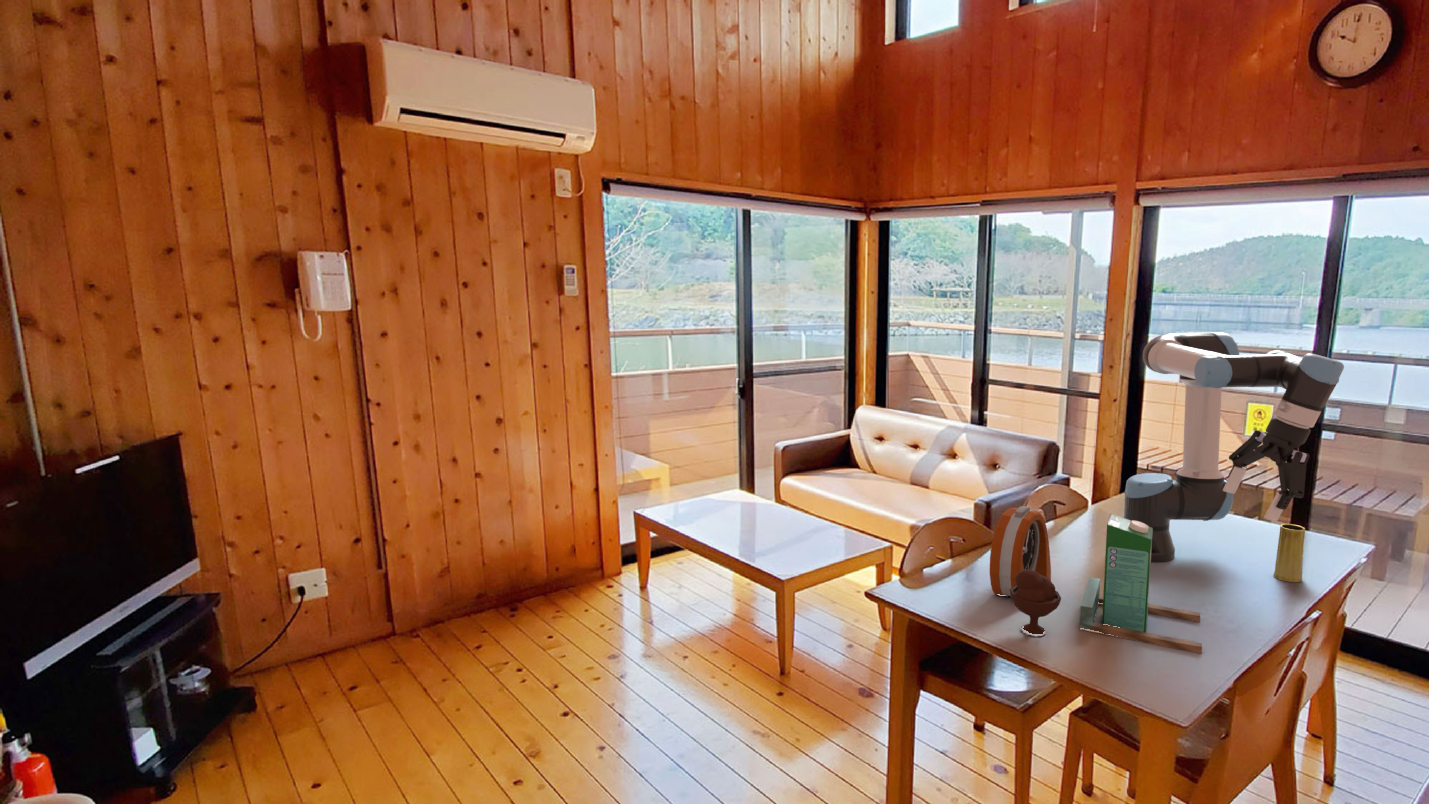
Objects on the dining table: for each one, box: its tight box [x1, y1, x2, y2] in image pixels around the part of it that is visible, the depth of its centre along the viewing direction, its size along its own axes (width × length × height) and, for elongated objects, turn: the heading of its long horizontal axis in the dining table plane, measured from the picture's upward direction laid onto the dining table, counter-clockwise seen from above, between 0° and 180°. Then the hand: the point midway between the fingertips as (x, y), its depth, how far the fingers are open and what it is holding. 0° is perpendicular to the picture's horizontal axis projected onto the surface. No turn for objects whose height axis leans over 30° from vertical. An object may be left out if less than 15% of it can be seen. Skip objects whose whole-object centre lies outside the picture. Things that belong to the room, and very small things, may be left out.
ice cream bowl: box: [1009, 569, 1062, 634], centre depth 172 cm, size 11×11×15 cm
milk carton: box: [1101, 513, 1153, 633], centre depth 175 cm, size 9×9×25 cm
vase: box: [1273, 523, 1306, 583], centre depth 196 cm, size 6×6×14 cm
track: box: [1079, 576, 1203, 654], centre depth 174 cm, size 24×19×6 cm
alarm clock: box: [989, 505, 1052, 597], centre depth 194 cm, size 22×10×23 cm, turn 137°
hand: (1248, 505), depth 172 cm, fingers open, 13 cm apart
